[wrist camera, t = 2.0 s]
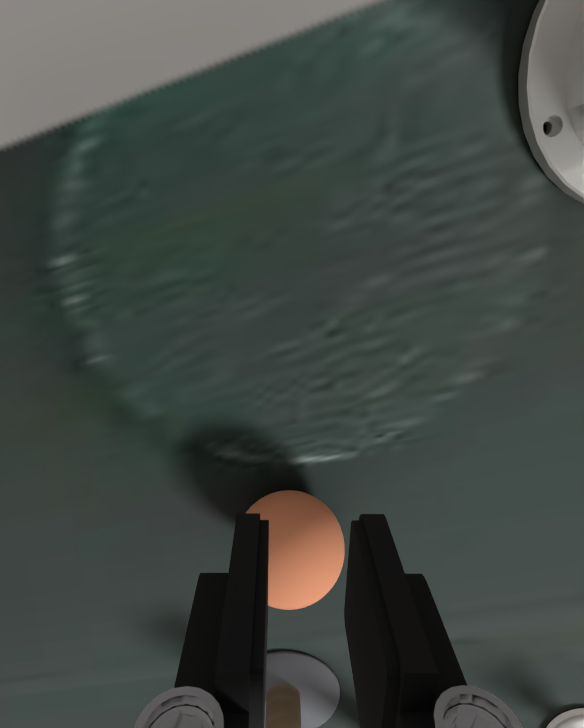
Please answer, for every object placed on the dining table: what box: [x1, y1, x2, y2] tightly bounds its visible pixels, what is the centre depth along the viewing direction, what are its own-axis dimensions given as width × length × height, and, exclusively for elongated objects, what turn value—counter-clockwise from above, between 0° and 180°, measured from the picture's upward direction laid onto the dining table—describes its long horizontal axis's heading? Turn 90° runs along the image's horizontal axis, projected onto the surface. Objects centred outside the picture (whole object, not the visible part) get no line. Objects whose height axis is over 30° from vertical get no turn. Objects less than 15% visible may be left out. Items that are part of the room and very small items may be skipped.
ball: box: [246, 490, 344, 610], centre depth 25 cm, size 6×6×6 cm
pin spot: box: [264, 651, 340, 728], centre depth 33 cm, size 8×8×1 cm
